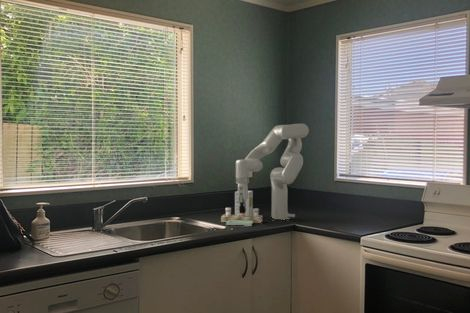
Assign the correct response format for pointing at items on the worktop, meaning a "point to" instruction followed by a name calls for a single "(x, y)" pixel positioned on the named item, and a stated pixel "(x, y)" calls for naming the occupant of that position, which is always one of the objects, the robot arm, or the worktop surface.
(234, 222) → the tray
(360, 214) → the worktop surface
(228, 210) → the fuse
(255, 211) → the fuse
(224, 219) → the fuse block
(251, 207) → the supplement box
